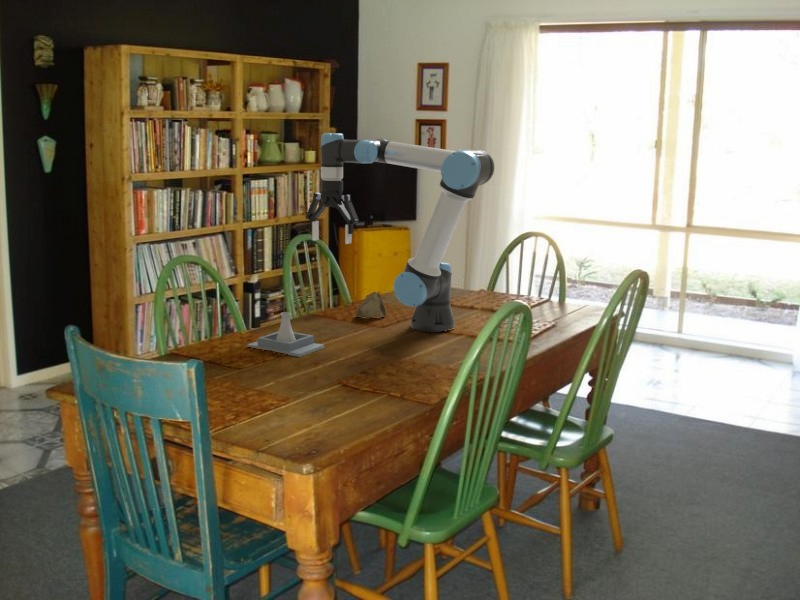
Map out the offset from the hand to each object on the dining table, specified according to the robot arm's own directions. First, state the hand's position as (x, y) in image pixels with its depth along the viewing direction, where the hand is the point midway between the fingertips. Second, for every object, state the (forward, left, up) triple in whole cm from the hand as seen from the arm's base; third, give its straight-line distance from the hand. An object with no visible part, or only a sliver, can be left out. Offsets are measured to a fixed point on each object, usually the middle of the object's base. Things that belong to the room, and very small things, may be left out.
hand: (331, 241), depth 314 cm
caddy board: (-7, +36, -29) cm, 46 cm away
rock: (-6, -16, -29) cm, 34 cm away
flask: (-7, +35, -28) cm, 46 cm away
